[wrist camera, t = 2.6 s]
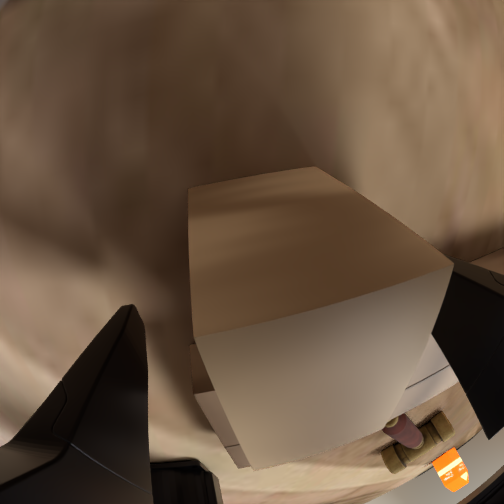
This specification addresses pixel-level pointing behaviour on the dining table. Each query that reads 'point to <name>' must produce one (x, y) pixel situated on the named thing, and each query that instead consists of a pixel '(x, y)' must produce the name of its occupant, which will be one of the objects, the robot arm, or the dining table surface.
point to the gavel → (413, 439)
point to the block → (307, 309)
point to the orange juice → (451, 470)
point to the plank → (417, 392)
